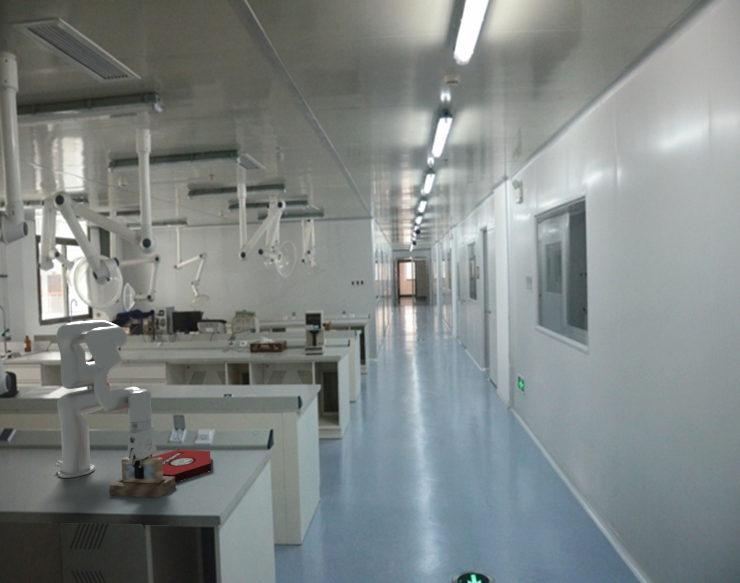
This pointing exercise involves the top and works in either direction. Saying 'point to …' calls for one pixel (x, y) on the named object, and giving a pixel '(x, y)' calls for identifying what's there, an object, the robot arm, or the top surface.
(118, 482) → the tan shallow box
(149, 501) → the top surface
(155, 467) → the tan rectangular slab
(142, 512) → the top surface
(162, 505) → the top surface
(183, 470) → the plaque
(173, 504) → the top surface
